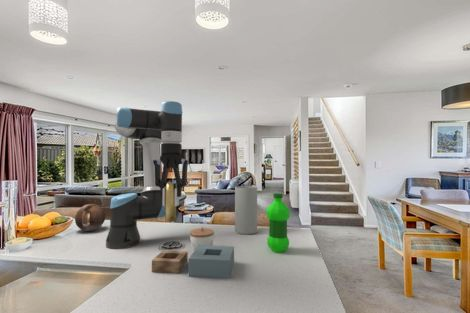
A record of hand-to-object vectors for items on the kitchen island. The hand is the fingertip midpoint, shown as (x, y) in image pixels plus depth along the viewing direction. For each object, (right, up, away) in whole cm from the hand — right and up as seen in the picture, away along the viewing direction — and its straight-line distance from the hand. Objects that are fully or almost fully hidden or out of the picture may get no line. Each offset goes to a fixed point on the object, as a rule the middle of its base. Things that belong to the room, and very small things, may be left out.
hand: (170, 205), depth 93 cm
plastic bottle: (+43, -23, +17) cm, 52 cm away
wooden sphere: (-58, -24, +48) cm, 79 cm away
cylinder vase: (+30, -24, +46) cm, 60 cm away
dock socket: (+16, -23, -3) cm, 28 cm away
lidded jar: (+9, -23, +18) cm, 31 cm away
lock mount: (0, -23, -1) cm, 23 cm away
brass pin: (0, -6, 0) cm, 6 cm away
